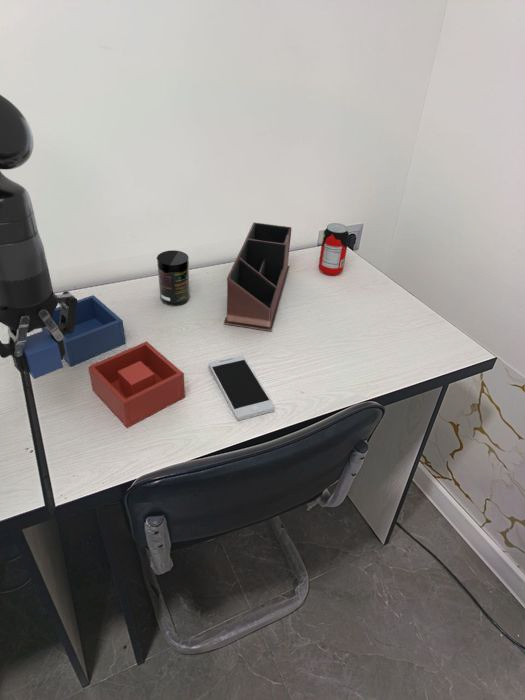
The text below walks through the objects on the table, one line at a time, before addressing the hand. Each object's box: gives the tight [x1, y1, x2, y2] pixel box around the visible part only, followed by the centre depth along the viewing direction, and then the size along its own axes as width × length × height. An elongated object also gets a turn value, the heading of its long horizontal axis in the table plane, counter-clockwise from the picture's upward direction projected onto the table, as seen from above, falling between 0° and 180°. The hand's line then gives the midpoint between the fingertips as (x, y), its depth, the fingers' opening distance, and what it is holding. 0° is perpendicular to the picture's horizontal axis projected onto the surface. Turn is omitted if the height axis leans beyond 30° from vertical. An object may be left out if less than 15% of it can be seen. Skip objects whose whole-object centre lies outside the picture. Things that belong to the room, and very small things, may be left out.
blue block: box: [23, 330, 64, 380], centre depth 74 cm, size 4×4×4 cm
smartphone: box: [208, 354, 275, 421], centre depth 90 cm, size 7×16×1 cm, turn 23°
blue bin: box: [41, 294, 127, 367], centre depth 97 cm, size 12×12×6 cm
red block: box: [118, 361, 155, 397], centre depth 86 cm, size 4×4×4 cm
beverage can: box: [318, 222, 350, 277], centre depth 124 cm, size 6×6×12 cm
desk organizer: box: [223, 222, 292, 332], centre depth 113 cm, size 10×29×11 cm, turn 170°
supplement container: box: [156, 250, 191, 307], centre depth 109 cm, size 7×7×10 cm
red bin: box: [87, 340, 186, 429], centre depth 86 cm, size 12×12×6 cm
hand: (42, 363), depth 76 cm, fingers closed on blue block, 4 cm apart
